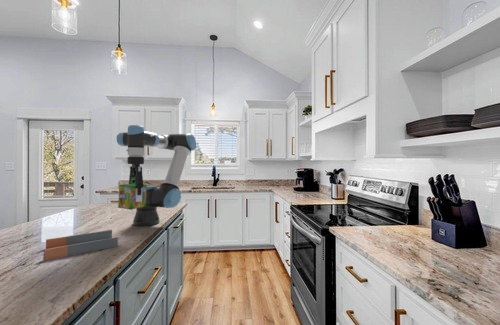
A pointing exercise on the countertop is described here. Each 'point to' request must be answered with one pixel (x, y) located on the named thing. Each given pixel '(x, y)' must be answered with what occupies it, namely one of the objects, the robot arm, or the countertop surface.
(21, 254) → the countertop surface
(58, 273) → the countertop surface
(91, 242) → the channel
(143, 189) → the chalk box
